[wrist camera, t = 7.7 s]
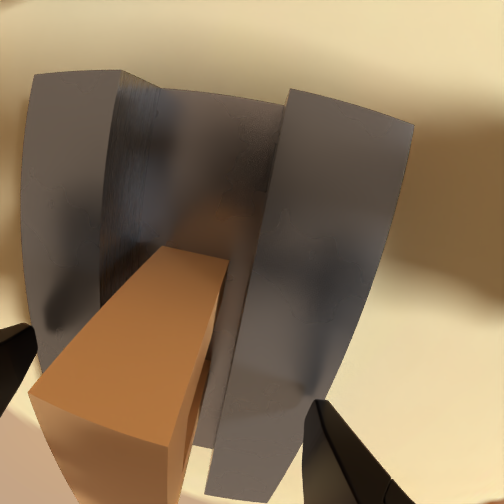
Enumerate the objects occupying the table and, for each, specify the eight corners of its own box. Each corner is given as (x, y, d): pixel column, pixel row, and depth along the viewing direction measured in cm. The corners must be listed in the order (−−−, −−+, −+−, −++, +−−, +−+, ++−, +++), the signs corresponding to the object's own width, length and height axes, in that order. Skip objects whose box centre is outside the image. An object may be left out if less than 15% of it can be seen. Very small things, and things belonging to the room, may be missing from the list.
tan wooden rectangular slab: (229, 260, 11) (167, 446, 4) (206, 387, 13) (168, 545, 6) (162, 245, 11) (27, 392, 4) (153, 374, 13) (89, 519, 6)
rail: (367, 130, 10) (414, 125, 6) (268, 446, 15) (267, 503, 11) (96, 88, 10) (34, 74, 6) (95, 404, 15) (68, 451, 11)
